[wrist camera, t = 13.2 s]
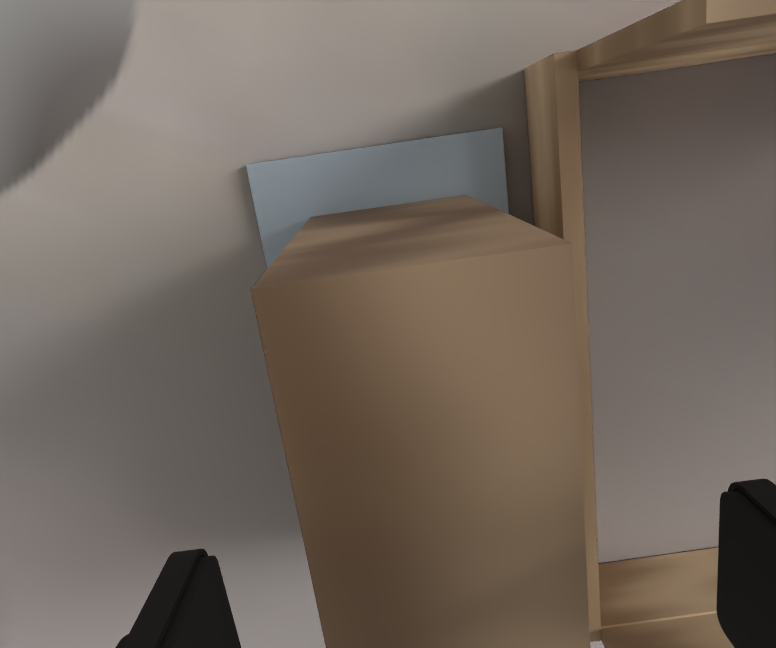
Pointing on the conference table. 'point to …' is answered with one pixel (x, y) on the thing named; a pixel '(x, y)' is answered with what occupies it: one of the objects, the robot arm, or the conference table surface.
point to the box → (432, 425)
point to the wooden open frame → (566, 220)
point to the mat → (374, 181)
